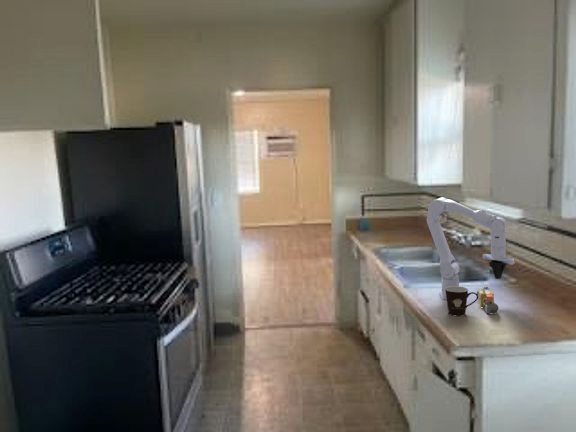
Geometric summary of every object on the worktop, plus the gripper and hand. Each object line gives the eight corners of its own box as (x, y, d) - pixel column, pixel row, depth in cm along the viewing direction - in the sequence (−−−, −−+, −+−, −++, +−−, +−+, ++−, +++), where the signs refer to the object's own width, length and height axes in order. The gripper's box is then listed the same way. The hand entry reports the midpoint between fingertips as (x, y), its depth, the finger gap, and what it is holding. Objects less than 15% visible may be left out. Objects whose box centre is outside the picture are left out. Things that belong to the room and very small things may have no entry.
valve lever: (482, 290, 214) (482, 286, 213) (488, 291, 213) (488, 286, 213) (486, 300, 200) (486, 295, 200) (493, 300, 200) (493, 296, 199)
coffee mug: (442, 314, 205) (441, 290, 203) (450, 308, 211) (449, 285, 210) (471, 319, 198) (471, 294, 196) (478, 313, 204) (478, 288, 203)
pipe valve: (475, 300, 221) (475, 286, 220) (487, 300, 220) (487, 286, 220) (486, 315, 201) (486, 300, 200) (500, 315, 200) (500, 300, 200)
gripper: (477, 245, 218) (477, 276, 220) (506, 250, 205) (506, 283, 207) (489, 243, 221) (489, 273, 223) (518, 248, 209) (517, 280, 210)
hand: (498, 278), depth 215 cm, fingers closed
